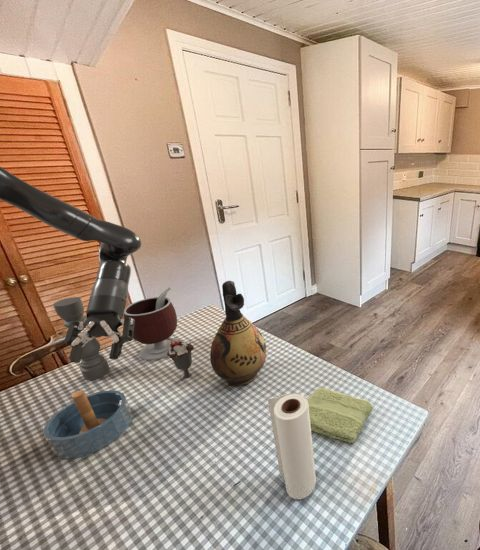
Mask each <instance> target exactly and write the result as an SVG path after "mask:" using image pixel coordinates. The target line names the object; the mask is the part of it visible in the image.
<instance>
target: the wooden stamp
mask: <svg viewBox="0 0 480 550" xmlns="http://www.w3.org/2000/svg"><path fill="white" fill-rule="evenodd" d="M71 399H72V400H73V401H72V402H74V403H75V405H76V407H77V409H78V411H79V413H80V415H81V417H82V419H83V422H84V424H85V426H84V427H83V428H82V429H81V430H80V432H79V434H80V433H83V432H86V431H88V430H90V429H92V428H94V427H96V426H98V425H100V424H101V423H103V422H104V421H106V419H103V418H101V419H97V418H96V416H95V414H94V411H93V409H92V407H91V405H90V403H89V401H88V398H87V394H86V392H85V390H84V389H80V390H77V391H74V392H73V393H72V394H71Z"/></svg>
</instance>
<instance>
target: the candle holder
mask: <svg viewBox="0 0 480 550" xmlns="http://www.w3.org/2000/svg"><path fill="white" fill-rule="evenodd" d="M83 303H84V302H83V301H82V298H81V297H79V296H74V297H67V298H64V299H60V300H58V301H55V302H54V303H53V305H52V306H53V308H54V311H55V313H56V315H57V316H58V317H59V318H60V319H62V320H63V322H62V325H63V327H64V328H65V327H66V328H67V329H68V328H69V325H70V322H71V321H73V320H74V321H77V322H84V321H85V320H86V318H87V315H86V316H85V315H84V313H85V306H84V304H83ZM84 329H85V328H84V327H83V329H82V330H84ZM82 330H81V331H82ZM86 335H89V334H86ZM100 343H101V342H100V341H99V340H98V339H97V337H94V338H93V339H92V340H91V341H88V342H87V343H86V344H85V345H84V346H83V347H82V348H84V349H83V353H82V357H81V361H80V362H79V368H80V372H81V374H82V376H83V379H84V380H85V381H96V380H98V379H101V378H103V377H105V376H106V375H108V374H109V373H110V371H111V368H110V365H109V363H108V360H107V359H106V358H105V356H104V355H102V354H100V350H101V344H100Z"/></svg>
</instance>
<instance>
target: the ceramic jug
mask: <svg viewBox="0 0 480 550" xmlns="http://www.w3.org/2000/svg"><path fill="white" fill-rule="evenodd" d="M221 289H222V297H223V303H224V313H225V318H224V320H223V321H222V323H221V324H220V326H219V327H218V329H217V331H216V334H215V335H214V338H213V340H212V343H211V346H210V353H209V355H210V356H209V360H210V366H211V368H212V370H213V371H214V373H215V374H216V375H217V376H218V377H219V378H221V379H222V380H224V381H225V383H226V385H227V386H228V387H237V388H238V387H244V386H247V385H248V384H250V383H252V382H253V381H254V380H255V379H256V378H257V376H258V373H259V372H260V371H261V369H262V368H263V367H264V365H265V363H266V359H267V352H268V351H267V349H268V348H267V344H266V341H265V339H264V336H263V334H262V333H261V331H260V330H259V328H257V327H256V326H255V324H253V323H252V322H251V320H249V319H248V318H247V317H246V316H244V315H243V313H242V312H241V310H242V309H243V308H244V306H245V297H244V296H243V294H242V293H237V287H236V285H235V281H232V280H226V281H224V282H223V283H222V285H221Z"/></svg>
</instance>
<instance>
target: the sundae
mask: <svg viewBox="0 0 480 550" xmlns="http://www.w3.org/2000/svg"><path fill="white" fill-rule="evenodd" d="M170 338H171V337H169V338H168V339H167V340H169V339H170ZM171 340H172V339H171ZM173 341H174V340H173ZM174 342H175V341H174ZM170 346H171V347H170V349H169V351H168V353H167V357H169V358H170V359H171V361H172V362H173V364H174V366H175V367H176V369H178V370H180V371H183V376H182V379H184V380H186V379H187V380H188V379H190V378H191V377H193V373H191V372H190V371H189V368H191V366H192V364H193V357H192V356H193V355H192V351H194V349H195V347H194V345H192V341H189V343H186V342H185V341H182V340H180V341H179V342H178V341H176V342H175V343H172V341H171V344H170Z"/></svg>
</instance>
